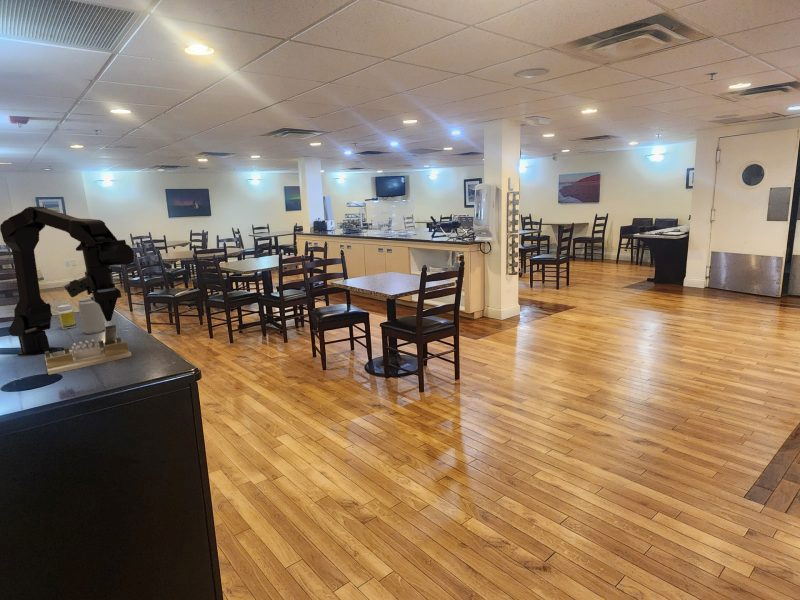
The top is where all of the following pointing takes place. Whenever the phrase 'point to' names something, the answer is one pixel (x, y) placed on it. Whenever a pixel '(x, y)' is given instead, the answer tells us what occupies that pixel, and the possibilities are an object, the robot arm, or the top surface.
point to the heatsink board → (88, 361)
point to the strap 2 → (110, 335)
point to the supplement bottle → (66, 317)
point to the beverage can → (91, 316)
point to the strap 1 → (57, 353)
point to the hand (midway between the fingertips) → (108, 320)
